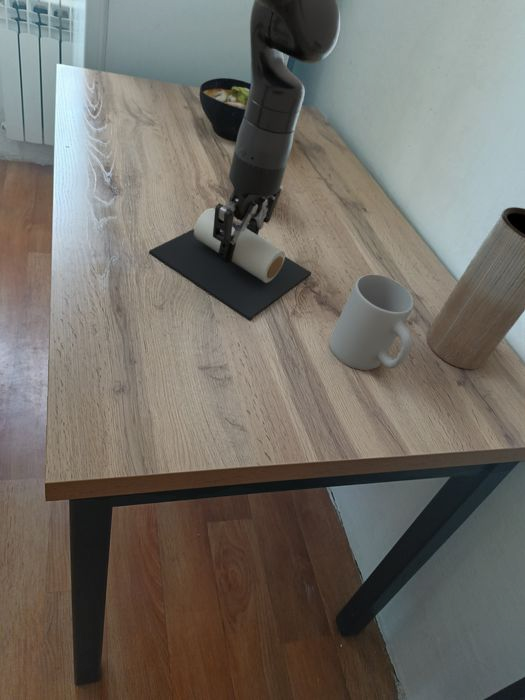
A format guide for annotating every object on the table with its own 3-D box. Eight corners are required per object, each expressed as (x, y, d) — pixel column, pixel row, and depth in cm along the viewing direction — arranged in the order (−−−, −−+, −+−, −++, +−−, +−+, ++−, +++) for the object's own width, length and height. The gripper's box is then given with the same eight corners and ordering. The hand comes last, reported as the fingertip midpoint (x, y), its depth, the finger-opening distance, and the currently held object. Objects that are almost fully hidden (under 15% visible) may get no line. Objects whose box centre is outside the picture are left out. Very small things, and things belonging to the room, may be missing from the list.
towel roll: (261, 288, 83) (270, 259, 79) (190, 243, 87) (195, 213, 83) (280, 275, 87) (290, 246, 83) (212, 232, 91) (218, 203, 87)
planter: (418, 322, 89) (491, 200, 74) (471, 330, 91) (553, 213, 76) (436, 366, 82) (521, 241, 67) (493, 373, 84) (588, 254, 69)
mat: (148, 253, 84) (149, 250, 84) (219, 219, 96) (220, 216, 96) (249, 320, 79) (250, 317, 78) (310, 275, 91) (311, 272, 91)
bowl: (184, 133, 118) (191, 86, 111) (206, 109, 131) (214, 66, 124) (257, 158, 118) (269, 113, 112) (273, 132, 131) (284, 90, 124)
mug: (317, 335, 80) (343, 276, 73) (361, 325, 84) (389, 270, 77) (363, 394, 74) (397, 337, 66) (408, 381, 78) (444, 326, 70)
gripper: (253, 178, 69) (227, 282, 80) (309, 154, 78) (279, 249, 90) (208, 152, 71) (189, 257, 82) (268, 132, 81) (243, 228, 92)
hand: (236, 252), depth 86 cm, fingers closed on towel roll, 5 cm apart
